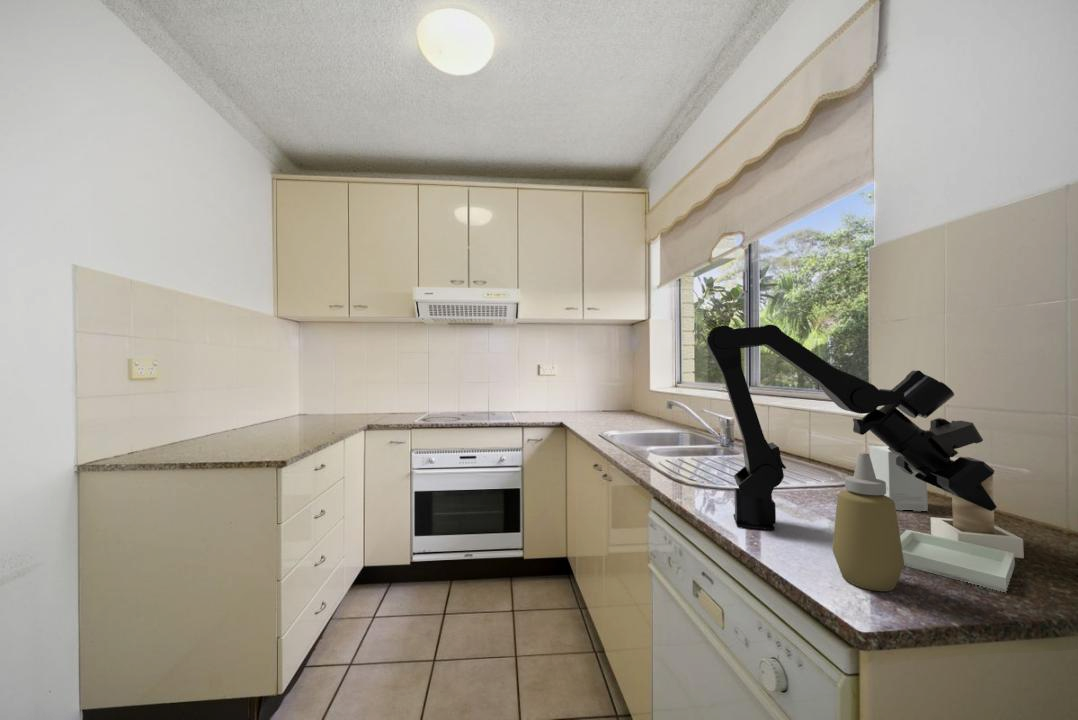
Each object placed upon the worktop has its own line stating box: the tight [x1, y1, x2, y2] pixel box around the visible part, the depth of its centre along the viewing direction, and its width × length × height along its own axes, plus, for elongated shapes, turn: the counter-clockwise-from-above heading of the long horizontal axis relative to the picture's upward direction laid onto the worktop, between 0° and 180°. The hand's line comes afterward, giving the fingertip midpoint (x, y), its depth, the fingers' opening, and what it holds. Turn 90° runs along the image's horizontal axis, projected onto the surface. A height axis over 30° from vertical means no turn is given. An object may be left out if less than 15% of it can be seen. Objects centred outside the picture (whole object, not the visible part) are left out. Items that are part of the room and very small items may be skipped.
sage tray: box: [900, 529, 1016, 594], centre depth 66 cm, size 13×13×2 cm
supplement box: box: [869, 445, 929, 512], centre depth 95 cm, size 7×7×13 cm
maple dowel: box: [951, 466, 996, 535], centre depth 73 cm, size 5×5×13 cm
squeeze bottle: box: [832, 452, 905, 592], centre depth 61 cm, size 8×8×18 cm
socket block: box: [930, 516, 1025, 559], centre depth 73 cm, size 8×8×3 cm
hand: (983, 504), depth 73 cm, fingers closed on maple dowel, 5 cm apart
